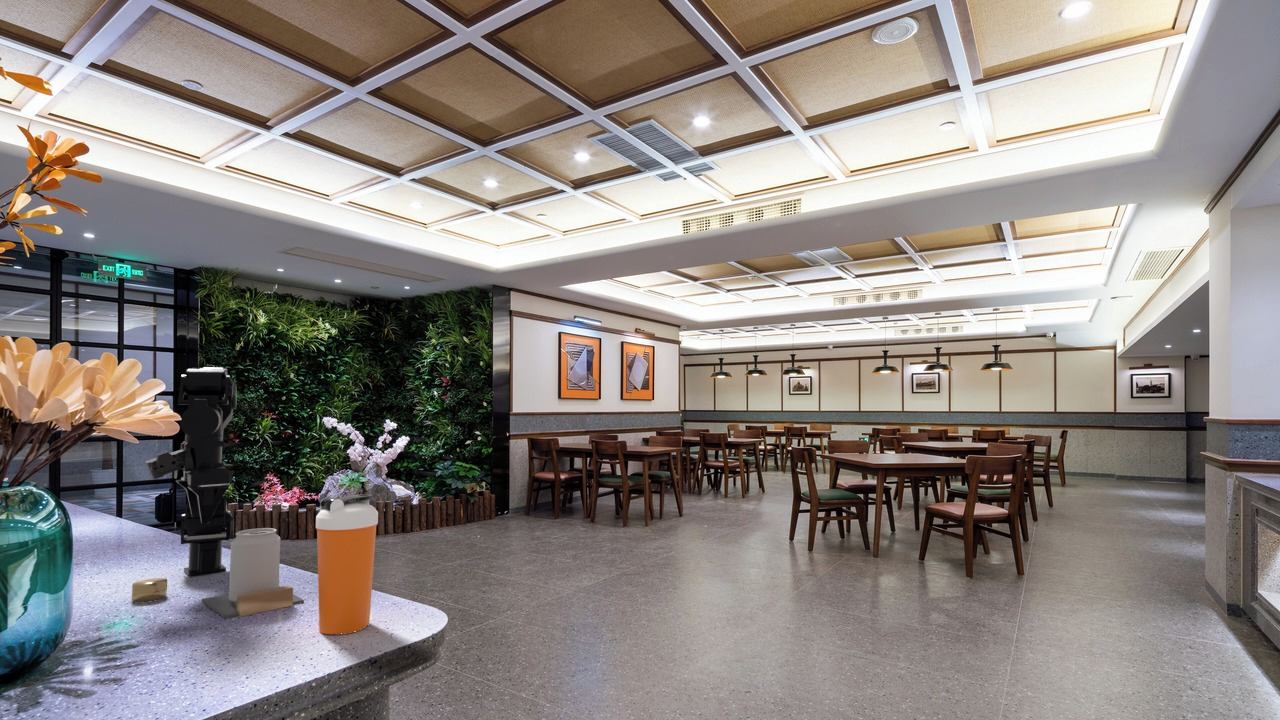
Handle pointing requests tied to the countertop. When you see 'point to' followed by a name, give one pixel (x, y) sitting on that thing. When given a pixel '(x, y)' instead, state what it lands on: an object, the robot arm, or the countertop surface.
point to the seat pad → (230, 605)
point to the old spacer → (149, 590)
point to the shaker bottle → (345, 562)
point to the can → (254, 562)
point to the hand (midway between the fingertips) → (200, 520)
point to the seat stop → (264, 600)
